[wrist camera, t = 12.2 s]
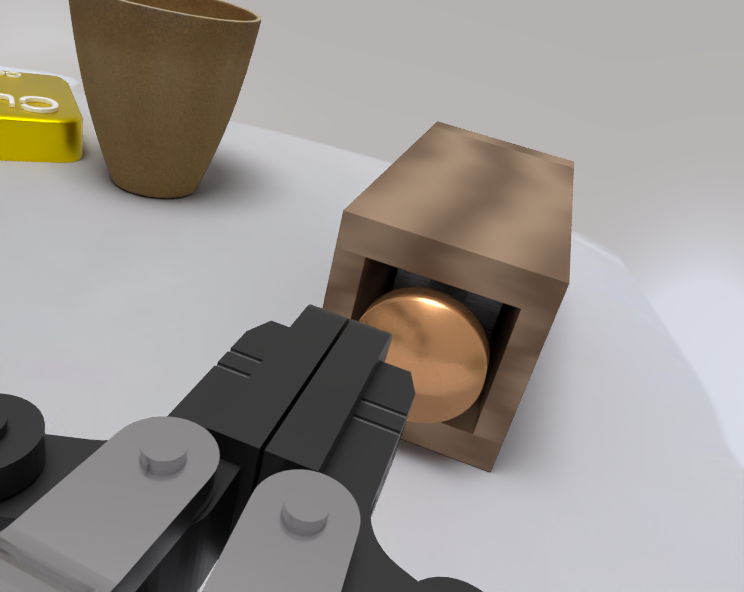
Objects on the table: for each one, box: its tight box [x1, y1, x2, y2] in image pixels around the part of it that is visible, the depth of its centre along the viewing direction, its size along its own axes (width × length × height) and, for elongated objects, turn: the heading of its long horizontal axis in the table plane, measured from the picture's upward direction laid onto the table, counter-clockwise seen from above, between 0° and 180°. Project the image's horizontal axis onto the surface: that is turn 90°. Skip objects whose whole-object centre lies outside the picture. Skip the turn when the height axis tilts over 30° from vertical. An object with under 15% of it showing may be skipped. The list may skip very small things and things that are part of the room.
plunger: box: [359, 268, 503, 423], centre depth 41 cm, size 7×21×7 cm, turn 163°
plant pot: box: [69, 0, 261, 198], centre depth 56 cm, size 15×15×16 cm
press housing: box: [322, 122, 574, 472], centre depth 44 cm, size 11×24×12 cm, turn 163°
